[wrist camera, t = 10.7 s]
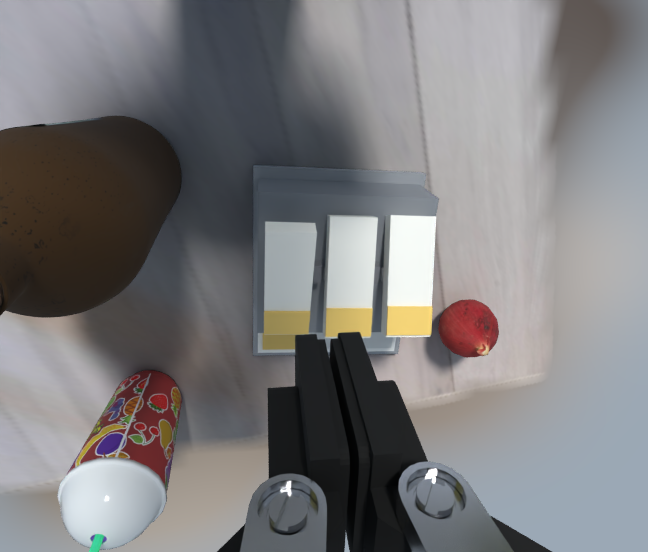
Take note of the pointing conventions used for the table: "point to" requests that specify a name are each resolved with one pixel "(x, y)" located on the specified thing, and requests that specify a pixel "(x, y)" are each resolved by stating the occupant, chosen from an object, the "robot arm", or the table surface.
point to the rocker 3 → (408, 276)
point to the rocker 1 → (288, 277)
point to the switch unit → (313, 207)
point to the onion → (468, 328)
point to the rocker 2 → (349, 274)
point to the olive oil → (79, 211)
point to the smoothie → (123, 464)
